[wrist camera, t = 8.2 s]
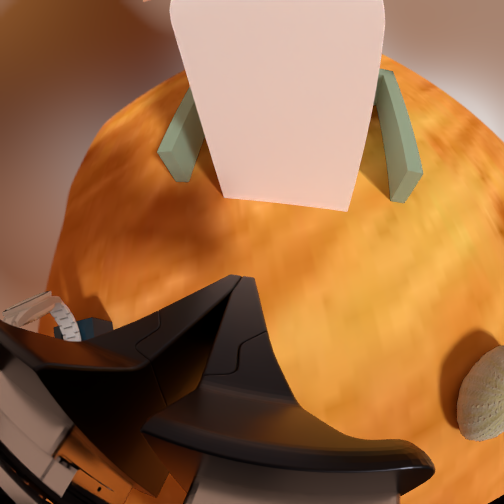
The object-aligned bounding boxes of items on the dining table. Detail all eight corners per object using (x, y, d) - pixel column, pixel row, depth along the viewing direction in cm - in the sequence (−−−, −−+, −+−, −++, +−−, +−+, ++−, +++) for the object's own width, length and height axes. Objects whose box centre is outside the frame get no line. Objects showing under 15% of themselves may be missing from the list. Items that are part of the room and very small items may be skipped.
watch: (109, 302, 23) (24, 269, 13) (123, 385, 20) (32, 392, 10) (71, 313, 24) (-10, 287, 13) (82, 388, 21) (-3, 389, 10)
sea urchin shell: (449, 372, 16) (534, 343, 10) (461, 352, 20) (525, 329, 15) (451, 462, 12) (530, 444, 7) (466, 426, 17) (527, 409, 11)
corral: (404, 203, 23) (491, 32, 5) (141, 181, 28) (42, 49, 10) (385, 100, 28) (409, -27, 10) (184, 91, 33) (139, -19, 15)
